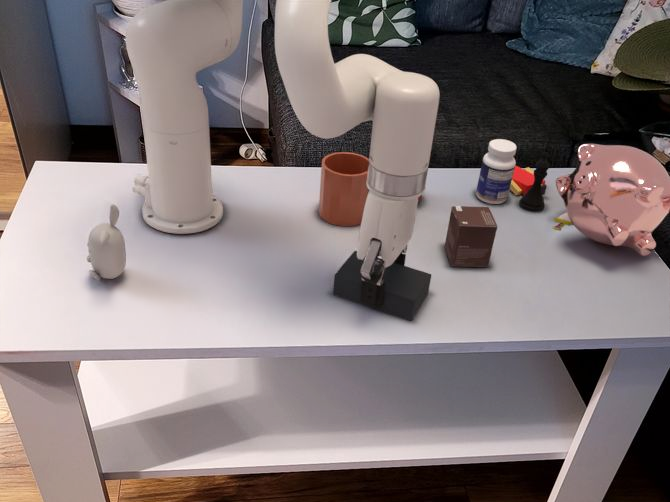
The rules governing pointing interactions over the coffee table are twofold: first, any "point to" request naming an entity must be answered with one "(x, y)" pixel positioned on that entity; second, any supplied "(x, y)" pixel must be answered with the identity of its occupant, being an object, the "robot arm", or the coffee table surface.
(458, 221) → the box
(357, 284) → the black rectangular block
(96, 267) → the rabbit figurine
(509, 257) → the coffee table surface
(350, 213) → the cup
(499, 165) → the pill bottle
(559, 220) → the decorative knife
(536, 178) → the chess piece
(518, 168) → the toy figure
